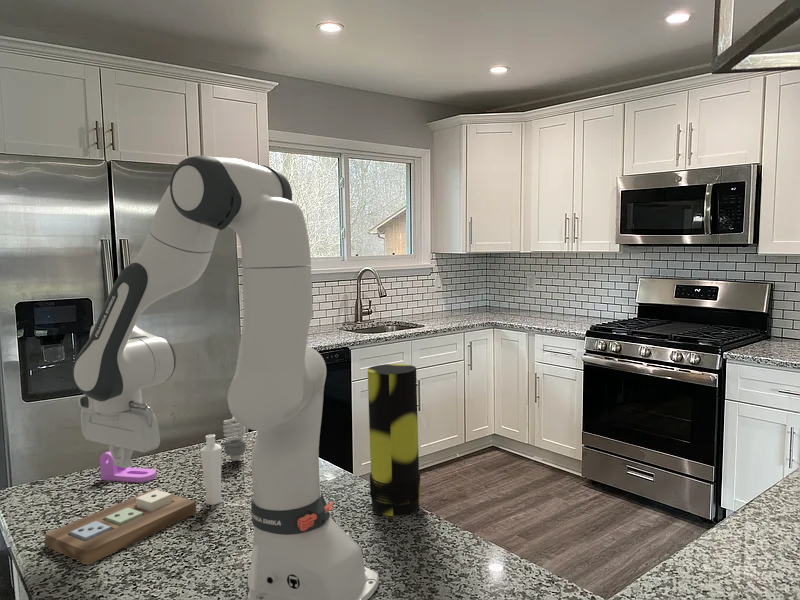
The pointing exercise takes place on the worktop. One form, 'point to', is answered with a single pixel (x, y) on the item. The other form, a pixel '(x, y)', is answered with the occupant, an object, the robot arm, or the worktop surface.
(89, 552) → the dice board
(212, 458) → the white faceted bottle
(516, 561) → the worktop surface
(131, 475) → the bracket
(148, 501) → the tile
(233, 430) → the light bulb
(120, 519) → the tile
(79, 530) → the tile
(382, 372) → the container
